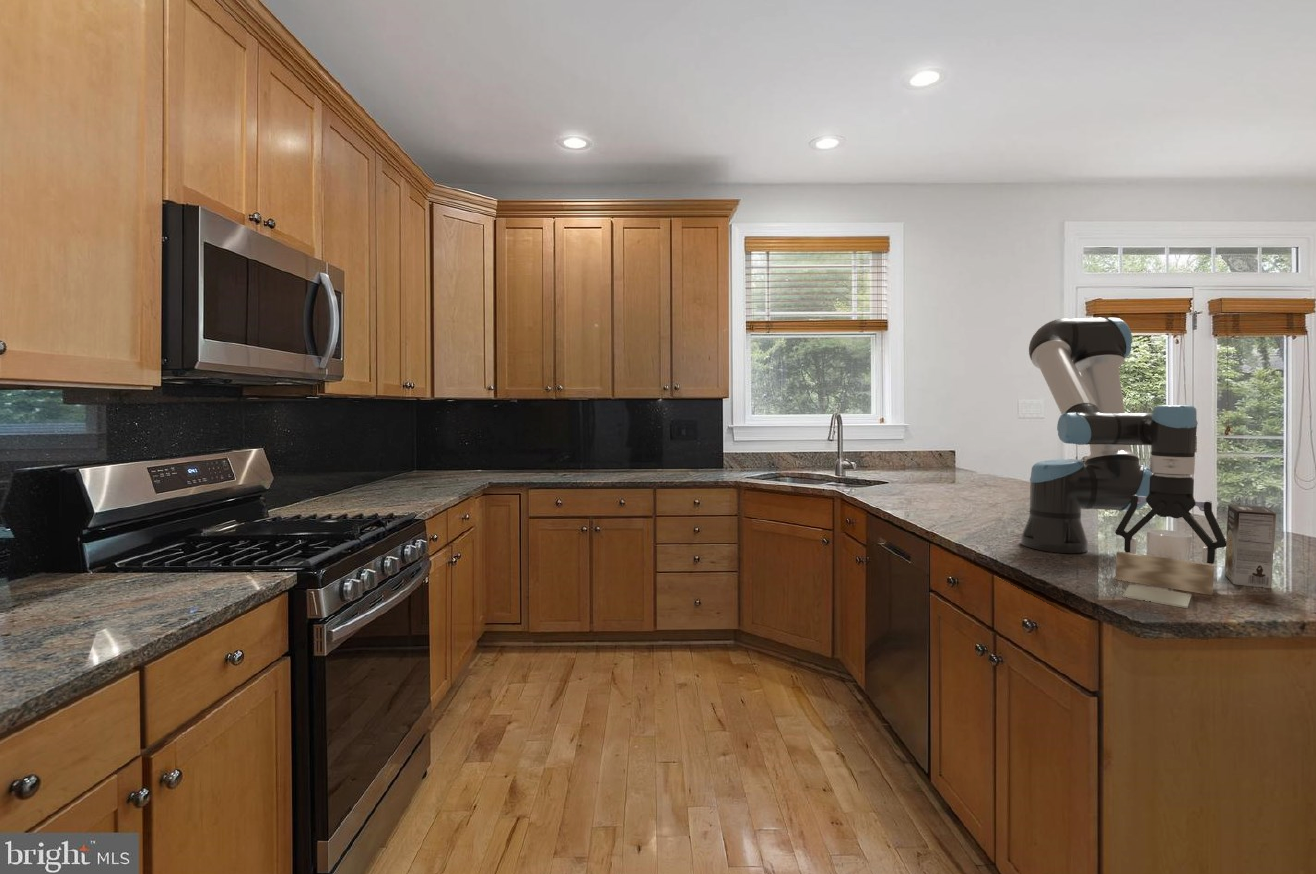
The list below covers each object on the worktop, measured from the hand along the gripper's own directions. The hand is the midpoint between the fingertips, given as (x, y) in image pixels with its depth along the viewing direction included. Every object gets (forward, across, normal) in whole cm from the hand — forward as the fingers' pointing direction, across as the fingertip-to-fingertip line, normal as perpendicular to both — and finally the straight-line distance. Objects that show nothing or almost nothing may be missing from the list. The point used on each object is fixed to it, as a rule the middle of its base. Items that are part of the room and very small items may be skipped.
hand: (1167, 572), depth 140 cm
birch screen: (+1, 0, -9) cm, 9 cm away
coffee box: (+1, +13, +8) cm, 15 cm away
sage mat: (+1, 0, -18) cm, 19 cm away
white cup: (+1, 0, 0) cm, 1 cm away
